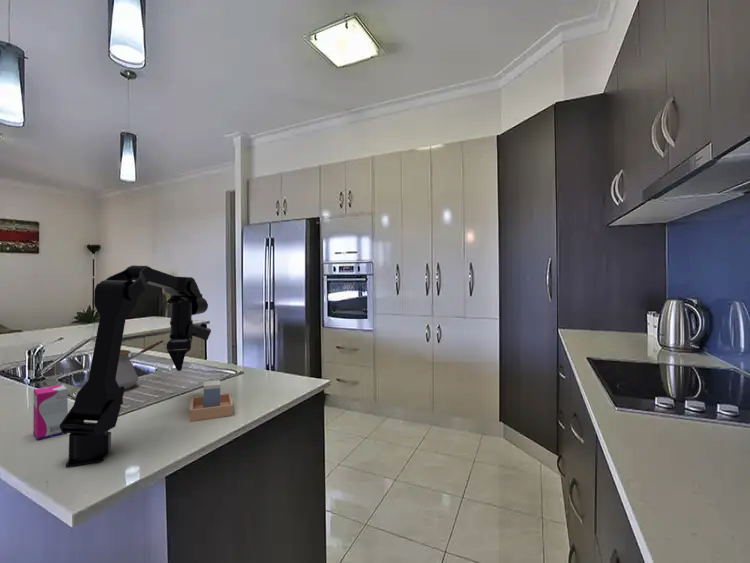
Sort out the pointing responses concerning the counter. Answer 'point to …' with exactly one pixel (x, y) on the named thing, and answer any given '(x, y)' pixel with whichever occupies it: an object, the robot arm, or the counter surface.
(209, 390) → the block
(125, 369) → the coffee pot
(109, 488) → the counter surface
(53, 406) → the supplement box
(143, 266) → the robot arm
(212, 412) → the bin
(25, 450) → the counter surface
